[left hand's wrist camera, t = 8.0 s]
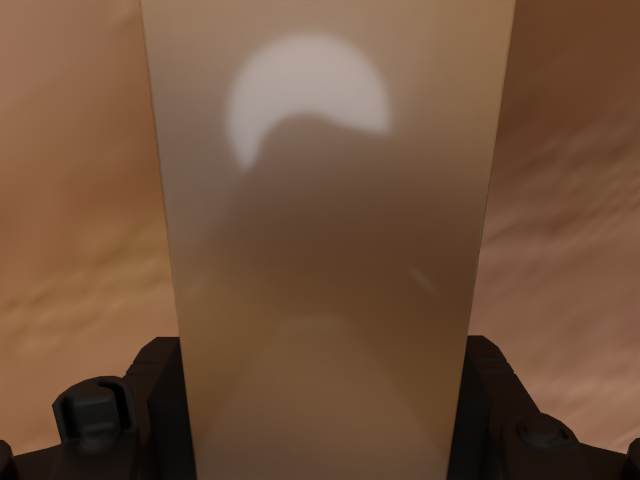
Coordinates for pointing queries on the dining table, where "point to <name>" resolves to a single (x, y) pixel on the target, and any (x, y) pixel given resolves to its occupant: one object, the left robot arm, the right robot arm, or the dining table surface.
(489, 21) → the bar
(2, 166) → the dining table surface
